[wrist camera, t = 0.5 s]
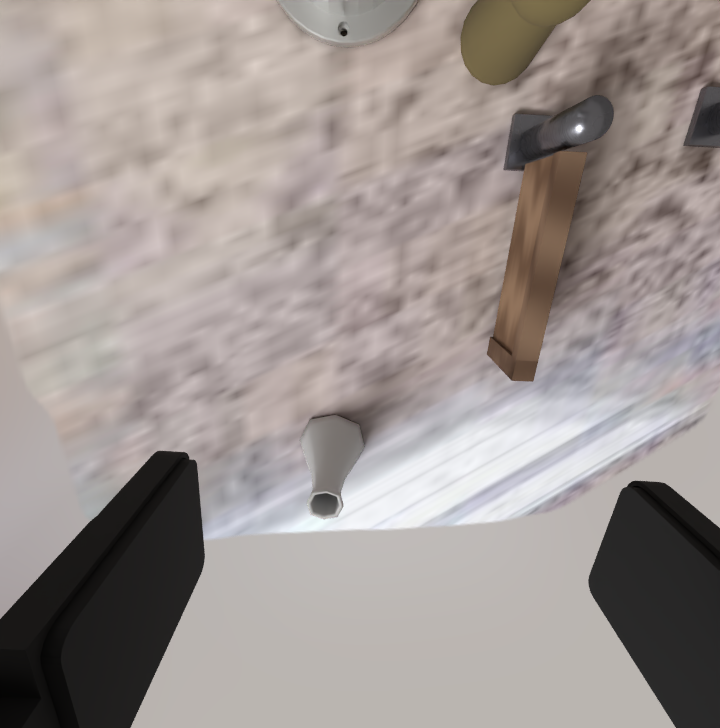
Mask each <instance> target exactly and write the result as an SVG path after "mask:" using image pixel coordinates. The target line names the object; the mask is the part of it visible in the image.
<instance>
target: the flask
mask: <svg viewBox="0 0 720 728" xmlns="http://www.w3.org/2000/svg"><path fill="white" fill-rule="evenodd" d="M300 443H301V446H302V449H303V452H304V455H305V459H306V462H307V465H308V468H309V470H310V473H311V476H312V487H313V488H312V493H311V495H310V497H309V499H308V501H307V506H308V509H309V512H310V515H313V516H316V517H319V518H321V519H328V518H334V517H338V515H339V513H340V511H341V510H342V508H343V501H342V498H341V490H342V487H343V483H344V480H345V479H346V477H347V475H348V474H349V473H350V471H351V470H352V468H353V466H354V465H355V463H356V461H357V459H358V457H359V456H360V454H361V452H362V450H363V448H364V447H365V446H364V442H363V438H362V434H361V430H360V425H359V424H357V423H354V422H352V421H349V420H347V419H344V418H342V417H339V416H337V415H332V416H326V417H321V418H316V419H310V420H309V422H308V424H307V426H306V428H305V430H304V432H303V434H302V437H301V439H300Z"/></svg>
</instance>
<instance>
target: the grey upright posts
mask: <svg viewBox="0 0 720 728" xmlns="http://www.w3.org/2000/svg"><path fill="white" fill-rule="evenodd" d="M613 115H614V111H613V106H612V104H611V102H610V101H609V100H608V99H607V98H606V97H604V96H600V95H596V96H592V97H590V98H588V99H586V100H584V101H582V102H580V103H578V104H576V105H574V106H572V107H570V108H568V109H567V110H565V111H563V112H561V113H559V114H557V115H555V116H544V115H528V114H514V115H513V117H512V123H511V129H510V135H509V140H508V146H507V152H506V158H505V164H504V170H511V171H524V169H525V164H528V163H531V162H534V161H537V160H540V159H543V158H546V157H549V156H552V155H553V154H554V153H556V152H559V151H563V150H566V149H569V148H572V147H575V146H578V145H581V144H584V143H587V142H590V141H593V140H596V139H598V138H600V137H601V136H603V135H604V134H605V133H606V132H607V131H608V129H609V128H610V126H611V124H612V121H613ZM683 146H697V147H713V148H720V87H705V88H703V89H701V92H700V95H699V98H698V101H697V104H696V107H695V111H694V114H693V117H692V120H691V123H690V126H689V130H688V133H687V136H686V139H685V142H684V145H683Z"/></svg>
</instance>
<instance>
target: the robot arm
mask: <svg viewBox="0 0 720 728" xmlns="http://www.w3.org/2000/svg"><path fill="white" fill-rule="evenodd" d="M417 1H418V0H277V2H278V4H279V5H280V6H281V8H282V9H283V10H284V12H285V13H286V14H287V16H288V17H289V19H290V20H291V21H293V22H294V23H295V24H296V25H297V26H298V27H299V28H300V29H301V30H302V31H303V32H305V33H306V34H308V35H310V36H311V37H313V38H314V39H316V40H318V41H321V42H323V43H326V44H329V45H331V46H338V47H346V48H349V47H358V46H364V45H367V44H370V43H373V42H375V41H378V40H380V39H381V38H383V37H384V36H386V35H388V34H389V33H391V32H392V31H393V30H394V29H396V28H397V27H398V26H399V25H400V24H401V23H402V22H403V21H404V20H405V19H406V17H407V16H408V15H409V13H410V12H411V11H412V9H413V8H414V6H415V5H416V3H417ZM342 31H346V32H347V35H346V36H344V37H343V36H341V32H342ZM204 558H205V554H204V542H203V530H202V518H201V506H200V494H199V483H198V471H197V463H196V461H195V460H189V456H188V454H187V453H185V452H171V451H157V452H156V453H154V454H153V455H152V456H151V457H150V459H149V460H148V461H147V462H146V463H145V464H144V465H143V466H142V467H141V468H140V470H139V471H138V472H137V473H136V474H135V475H134V476H133V477H132V478H131V479H130V480H129V482H128V483H127V484H126V485H125V486H124V487H123V488H122V489H121V490H120V491H119V493H118V494H117V495H116V496H115V497H114V498H113V499H112V500H111V501H110V502H109V503H108V505H107V506H106V507H105V508H104V509H103V510H102V511H101V512H100V513H99V514H98V516H96V517H95V518H94V519H93V520H92V521H90V522H89V523H88V524H87V526H86V527H85V528H84V529H83V530H82V531H81V532H80V533H79V534H78V535H77V536H76V538H75V539H74V540H73V541H72V542H71V543H70V544H69V545H68V546H67V547H66V548H65V549H64V551H63V552H62V553H61V554H60V555H59V556H58V557H57V558H56V559H55V560H54V561H53V563H52V564H51V565H50V566H49V567H48V568H47V569H46V570H45V571H44V572H43V573H42V574H41V576H40V577H39V578H38V579H37V580H36V581H35V582H34V583H33V584H32V585H31V586H30V587H29V589H28V590H27V591H26V592H25V593H24V594H23V595H22V596H21V597H20V598H19V599H18V600H17V602H16V603H15V604H14V605H13V606H12V607H11V608H10V609H9V610H8V611H7V613H6V614H5V615H4V616H3V617H2V618H1V619H0V728H130V727H131V725H132V723H133V721H134V718H135V716H136V714H137V712H138V710H139V708H140V705H141V703H142V701H143V699H144V697H145V695H146V692H147V690H148V688H149V686H150V684H151V681H152V679H153V677H154V675H155V673H156V671H157V668H158V666H159V664H160V662H161V660H162V658H163V655H164V653H165V651H166V649H167V647H168V644H169V642H170V640H171V638H172V636H173V633H174V631H175V629H176V627H177V625H178V622H179V621H180V618H181V616H182V614H183V612H184V610H185V607H186V605H187V603H188V601H189V599H190V597H191V594H192V592H193V590H194V588H195V586H196V583H197V581H198V579H199V577H200V575H201V572H202V569H203V565H204ZM589 588H590V591H591V594H592V596H593V598H594V599H595V601H596V602H597V604H598V605H599V607H600V609H601V610H602V612H603V613H604V615H605V616H606V618H607V620H608V621H609V623H610V624H611V626H612V628H613V629H614V631H615V632H616V634H617V635H618V637H619V638H620V640H621V642H622V643H623V645H624V646H625V648H626V650H627V651H628V653H629V654H630V656H631V658H632V659H633V661H634V662H635V664H636V665H637V667H638V668H639V670H640V672H641V673H642V675H643V676H644V678H645V680H646V681H647V683H648V684H649V686H650V687H651V689H652V691H653V692H654V693H655V695H656V697H657V699H658V700H659V702H660V703H661V705H662V706H663V708H664V710H665V711H666V713H667V714H668V716H669V717H670V719H671V721H672V722H673V724H674V725H675V727H676V728H720V528H719V527H718V526H717V525H715V524H714V523H713V522H712V521H711V520H709V519H708V518H707V517H706V516H704V515H703V514H702V513H701V512H700V511H698V510H697V509H696V508H695V507H694V506H692V505H691V504H690V503H689V502H688V501H686V500H685V499H684V498H683V497H682V496H680V495H679V494H678V493H677V492H676V491H674V490H673V489H672V488H671V487H670V486H668V485H666V484H665V483H661V482H648V481H632V482H631V483H629V484H628V486H627V487H625V488H623V489H622V491H621V492H620V495H619V498H618V500H617V503H616V506H615V508H614V511H613V514H612V516H611V519H610V522H609V524H608V527H607V530H606V532H605V535H604V538H603V540H602V543H601V546H600V548H599V551H598V554H597V556H596V559H595V562H594V565H593V567H592V570H591V573H590V575H589Z"/></svg>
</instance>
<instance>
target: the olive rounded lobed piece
mask: <svg viewBox="0 0 720 728" xmlns="http://www.w3.org/2000/svg"><path fill="white" fill-rule="evenodd" d="M589 1H590V0H478V1H477V2H476V3H475V4H474V5H473V7H472V8H471V10H470V12H469V13H468V15H467V17H466V19H465V21H464V25H463V29H462V34H461V53H462V56H463V60H464V63H465V66H466V67H467V69H468V70H469V72H470V73H471V75H472V76H473V77H475V78H476V79H478V80H479V81H480V82H482V83H486V84H490V85H499V84H506V83H507V82H509V81H511V80H513V79H515V78H517V77H518V76H519V75H520V74H521V73H522V72H523V71H524V70H525V69H526V68H527V67H528V65H529V64H530V62H531V61H532V59H533V58H534V57H535V55H536V54H537V52H538V51H539V49H540V48H541V46H542V45H543V44H544V42H545V41H546V39H547V38H548V36H549V35H550V34H551V32H552V31H553V29H554V28H555V26H556V25H557V24H560V23H562V22H564V21H566V20H568V19H569V18H571V17H573V16H575V15H576V14H577V13H578V12H579V11H580V10H581V9H582V8H583V7H584V6H585V5H586V4H587V3H588V2H589Z"/></svg>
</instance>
